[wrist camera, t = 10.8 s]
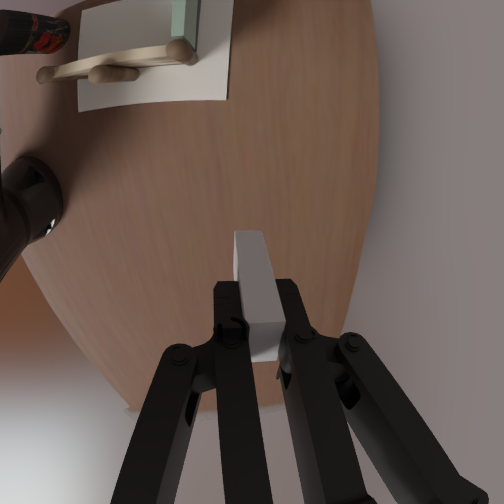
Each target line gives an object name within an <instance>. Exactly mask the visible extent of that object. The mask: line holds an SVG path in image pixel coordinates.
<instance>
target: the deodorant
mask: <svg viewBox="0 0 504 504" xmlns="http://www.w3.org/2000/svg"><path fill="white" fill-rule="evenodd" d="M69 33H70V26H69V24H68V22H67V21H65V20H63V19H59V18H54V17H49V16H44V15H39V14H33V13H27V12H20V11H12V10H0V56H1V55H14V54H51V53H54V52H56V51H58V50H59V49H60V48H61V47H62V46H63V45H64V44H65V42H66V41H67V39H68V36H69Z"/></svg>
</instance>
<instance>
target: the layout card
mask: <svg viewBox="0 0 504 504" xmlns="http://www.w3.org/2000/svg"><path fill="white" fill-rule="evenodd" d="M233 4H234V0H198V4H197V20H196V40H195V49H192V50H193V51H194V52H195V53H196V54H197V56H198V62H197V63H196V64H195V65H193V66H188V65H185V64H183V63H182V64H166V65H155V66H145V67H137V68H136V69H138V70H139V72H140V75H139V78H138V79H137V80H135V81H129V82H112V83H100V84H93V83H91V82H90V81H89V79H77V89H78V113H79V112H84V111H89V110H95V109H101V108H107V107H114V106H121V105H129V104H139V103H149V102H162V101H181V100H226V94H227V78H228V63H229V50H230V37H231V25H232V14H233ZM172 8H173V0H120V1H116V2H112V3H107V4H103V5H100V6H96V7H92V8H89V9H86V10H82V15H81V24H80V34H79V47H78V60H82V59H86V58H90V57H94V56H99V55H103V54H108V53H113V52H119V51H124V50H131V49H137V48H145V47H153V46H163V45H167V44H168V43H169V42H170V41H172V40H174V39H173V38H172V37H171V23H172Z"/></svg>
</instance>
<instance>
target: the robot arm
mask: <svg viewBox="0 0 504 504" xmlns="http://www.w3.org/2000/svg"><path fill="white" fill-rule="evenodd" d="M0 133H1V129H0ZM62 209H63V199H62V193H61V189H60V186H59V183H58V181H57V179H56V177H55V175H54V174H53V172H52V171H51V170H50V169H49V167H48V166H47V165H45V164H44V163H43V162H41V161H40V160H38V159H35V158H32V157H23V158H20V159H18V160H16V161H15V162H13V163H12V164H10V165H9V166H8V167H7V168H6V169H5V170H4V171H3V173H2V174H1V158H0V282H1V281H2V279H3V278H4V276H5V275H6V273H7V272H8V270H9V269H10V267H11V266H12V265H13V263H14V262H15V261H16V259H17V258H18V256H19V255H20V254H21V253H22V251H23V250H24V249H25V247H26V246H27V245H29V244H31V243H33V242H35V241H37V240H39V239H41V238H43V237H45V236H47V235H48V234H49V233H50V232H51V231H52V230H53V229H54V228H55V226H56V225H57V224H58V222H59V220H60V218H61V215H62ZM233 270H234V281H218V282H217V284H216V285H215V287H214V289H213V292H214V328H213V331H214V334H213V336H212V338H211V339H210V340H209V341H208V342H206V343H204V344H202V345H199V346H196V347H193V348H192V347H191V346H189V345H186V344H174V345H171V346H169V347H168V348H167V349H166V350H165V351H164V353H163V355H162V357H161V360H160V362H159V365H158V367H157V370H156V372H155V375H154V377H153V380H152V383H151V385H150V388H149V391H148V393H147V396H146V399H145V401H144V404H143V407H142V409H141V412H140V415H139V418H138V420H137V423H136V426H135V429H134V432H133V435H132V437H131V440H130V443H129V446H128V449H127V452H126V455H125V458H124V461H123V464H122V467H121V470H120V473H119V477H118V480H117V483H116V486H115V490H114V493H113V496H112V499H111V503H110V504H174V501H175V497H176V492H177V488H178V484H179V480H180V476H181V472H182V469H183V465H184V460H185V457H186V452H187V449H188V445H189V441H190V437H191V433H192V429H193V425H194V422H195V418H196V414H197V410H198V406H199V403H200V399H201V395H202V392H205V391H208V390H211V389H214V388H216V394H217V411H218V426H219V440H220V451H221V462H222V463H221V464H222V474H223V484H224V495H225V504H273V500H272V493H271V487H270V481H269V475H268V469H267V463H266V457H265V450H264V443H263V437H262V430H261V423H260V417H259V410H258V403H257V396H256V389H255V382H254V375H253V368H252V362H261V361H274V360H277V357H278V356H279V361H280V364H279V368H278V372H277V376H276V379H279V377H280V380H281V386H282V391H283V396H284V401H285V406H286V411H287V416H288V421H289V426H290V430H291V436H292V441H293V446H294V451H295V457H296V461H297V467H298V472H299V477H300V482H301V487H302V493H303V497H304V503H305V504H377V502H376V501H375V500H374V498H372V497H371V496H370V495H368V494H367V491H366V488H365V485H364V481H363V478H362V474H361V470H360V466H359V462H358V459H357V455H356V452H355V448H354V445H353V441H352V438H351V434H350V431H349V427H348V424H347V422H348V423H349V425H350V426H351V428H352V429H353V432H354V433H355V435H356V436H357V438H358V440H359V441H360V443H361V445H362V446H363V448H364V450H365V451H366V453H367V455H368V456H369V458H370V460H371V461H372V463H373V465H374V466H375V468H376V470H377V471H378V473H379V475H380V476H381V478H382V479H383V481H384V483H385V484H386V486H387V488H388V489H389V491H390V493H391V494H392V496H393V497H394V499H395V501H396V502H397V503H398V504H488V503H489V498H488V494H487V493H486V492H485V491H484V490H482V489H480V488H479V487H477V486H476V485H474V484H472V483H471V482H469V481H468V480H466V479H465V478H463V477H462V476H460V475H459V473H458V472H457V470H456V468H455V467H454V465H453V464H452V462H451V461H450V459H449V458H448V456H447V454H446V453H445V451H444V450H443V448H442V447H441V445H440V444H439V442H438V441H437V439H436V438H435V436H434V435H433V433H432V432H431V430H430V429H429V427H428V426H427V425H426V423H425V421H424V420H423V419H422V417H421V416H420V414H419V413H418V412H417V410H416V408H415V407H414V406H413V404H412V403H411V401H410V400H409V399H408V397H407V396H406V395H405V393H404V391H403V390H402V389H401V387H400V386H399V385H398V383H397V382H396V380H395V379H394V378H393V376H392V375H391V373H390V372H389V371H388V369H387V368H386V367H385V365H384V364H383V362H382V361H381V360H380V358H379V357H378V356H377V354H376V353H375V352H374V350H373V349H372V348H371V346H370V345H369V344H368V342H367V341H366V340H365V339H364V338H363V337H362V336H361V335H359V334H357V333H353V332H348V333H344V334H343V335H341V336H340V338H339V339H338V338H332V337H327V336H323V335H321V334H319V333H318V332H317V331H316V330H315V329H314V328H313V327H311V325H310V323H309V320H308V317H307V314H306V311H305V308H304V305H303V302H302V299H301V296H300V293H299V290H298V287H297V285H296V284H295V283H294V282H293V281H292V280H291V279H275V278H274V274H273V271H272V267H271V263H270V259H269V256H268V252H267V248H266V245H265V241H264V237H263V234H262V230H240V231H235V233H234V266H233ZM346 420H347V421H346Z"/></svg>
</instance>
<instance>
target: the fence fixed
mask: <svg viewBox="0 0 504 504" xmlns="http://www.w3.org/2000/svg"><path fill="white" fill-rule="evenodd" d="M197 62H198V56H197V54H196V53H195V52H194V51H193V50H192V49H191V48H190V47H189V46H188V45H187V44H186V43H185V42H184V41H183V40H180V39H175V40H172V41H170V42H169V43H168V44H167V45H163V46H153V47H145V48H137V49H131V50H124V51H119V52H113V53H108V54H103V55H99V56H94V57H90V58H86V59H82V60H78V61H75V62H71V63H68V64H64V65H61V66H45V67H42V68H40V69H39V71H38V72H37V75H36V80H37V82H38V83H39V84H44V83H51V82H59V81H67V80H77V79H89V81H90V82H91V83H93V84H100V83H112V82H129V81H135V80H137V79H138V78H139V75H140V72H139V70H138V69H136V68H137V67H145V66H155V65H166V64H182V63H183V64H185V65H188V66H193V65H195V64H196V63H197Z"/></svg>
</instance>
